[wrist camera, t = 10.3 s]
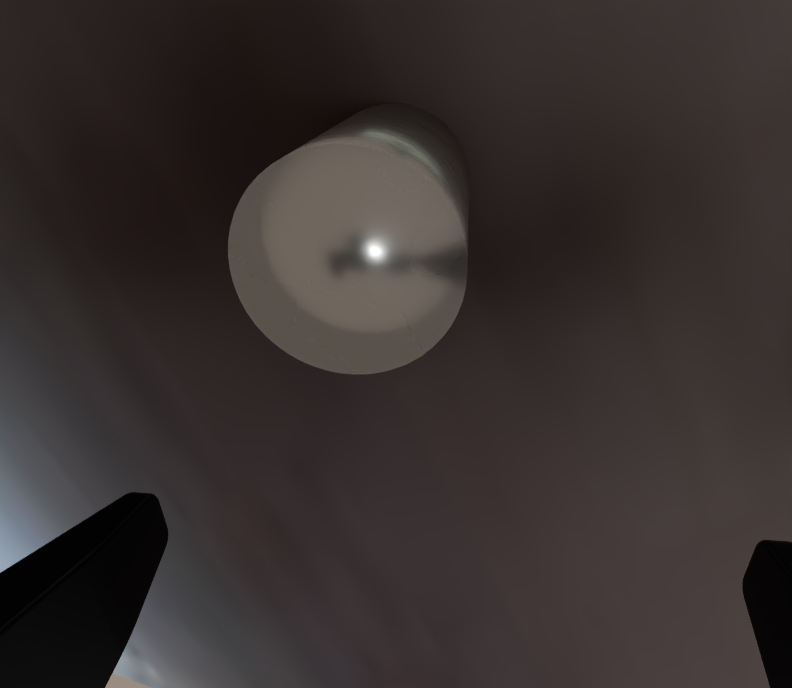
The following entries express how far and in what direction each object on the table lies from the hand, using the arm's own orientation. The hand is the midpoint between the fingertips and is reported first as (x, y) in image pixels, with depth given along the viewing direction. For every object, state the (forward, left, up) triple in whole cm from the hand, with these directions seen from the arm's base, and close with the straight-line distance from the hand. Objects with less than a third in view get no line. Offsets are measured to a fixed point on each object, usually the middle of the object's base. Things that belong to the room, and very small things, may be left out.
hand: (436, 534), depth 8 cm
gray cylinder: (+2, -3, -13) cm, 13 cm away
